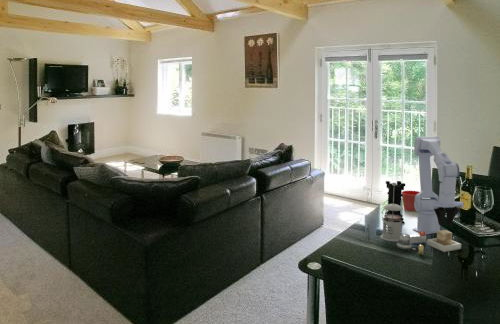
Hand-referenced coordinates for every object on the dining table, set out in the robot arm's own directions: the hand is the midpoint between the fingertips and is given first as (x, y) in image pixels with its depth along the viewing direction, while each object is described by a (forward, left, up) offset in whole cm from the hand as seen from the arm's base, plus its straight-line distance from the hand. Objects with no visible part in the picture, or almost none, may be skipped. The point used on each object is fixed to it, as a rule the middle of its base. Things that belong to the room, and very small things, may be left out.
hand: (444, 224), depth 161 cm
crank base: (+15, -3, -9) cm, 18 cm away
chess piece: (-5, -36, -10) cm, 38 cm away
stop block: (0, 0, -9) cm, 9 cm away
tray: (0, 0, -9) cm, 9 cm away
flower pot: (-29, -50, -10) cm, 59 cm away
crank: (+12, -5, -8) cm, 15 cm away
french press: (+12, -18, -10) cm, 24 cm away
